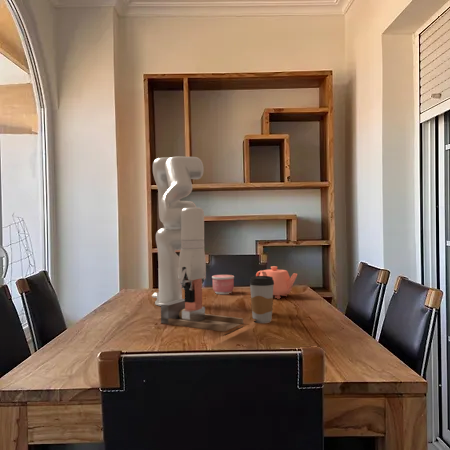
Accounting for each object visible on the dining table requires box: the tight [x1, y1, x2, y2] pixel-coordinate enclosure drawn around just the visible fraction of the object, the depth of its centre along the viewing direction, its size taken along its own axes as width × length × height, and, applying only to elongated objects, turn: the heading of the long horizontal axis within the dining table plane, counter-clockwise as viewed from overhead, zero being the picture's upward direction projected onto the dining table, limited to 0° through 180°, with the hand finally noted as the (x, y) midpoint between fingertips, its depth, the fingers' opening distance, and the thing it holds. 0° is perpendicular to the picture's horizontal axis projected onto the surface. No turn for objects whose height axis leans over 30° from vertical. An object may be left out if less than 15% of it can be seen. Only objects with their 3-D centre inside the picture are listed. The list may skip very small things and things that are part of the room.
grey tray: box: [160, 298, 244, 336], centre depth 146 cm, size 24×12×7 cm, turn 60°
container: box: [211, 274, 235, 295], centre depth 212 cm, size 10×10×8 cm
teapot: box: [255, 265, 298, 300], centre depth 200 cm, size 16×17×14 cm
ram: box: [182, 278, 206, 322], centre depth 148 cm, size 4×9×14 cm, turn 150°
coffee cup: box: [249, 275, 274, 324], centre depth 153 cm, size 8×8×15 cm
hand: (193, 300), depth 148 cm, fingers closed on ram, 4 cm apart
